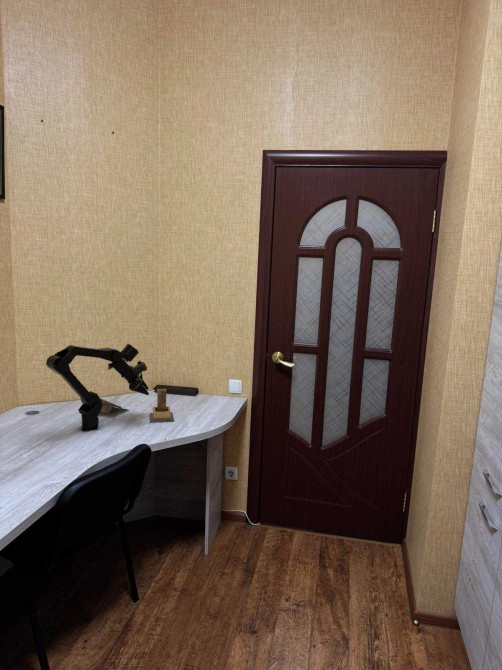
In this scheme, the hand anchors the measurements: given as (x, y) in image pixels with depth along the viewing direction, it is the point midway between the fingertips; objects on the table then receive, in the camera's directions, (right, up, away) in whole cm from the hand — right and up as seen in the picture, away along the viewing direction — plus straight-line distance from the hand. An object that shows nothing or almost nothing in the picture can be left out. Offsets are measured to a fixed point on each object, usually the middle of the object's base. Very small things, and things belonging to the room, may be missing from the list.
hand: (148, 391), depth 213 cm
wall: (-22, -11, +11) cm, 27 cm away
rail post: (+6, -12, +3) cm, 14 cm away
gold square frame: (+5, -13, +4) cm, 15 cm away
